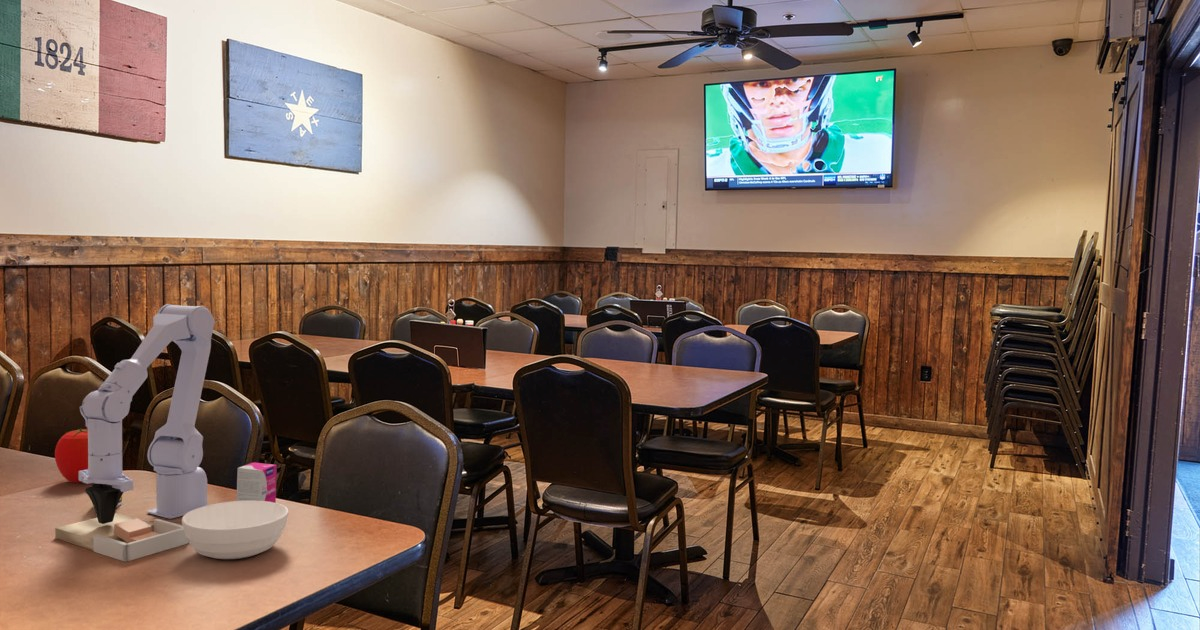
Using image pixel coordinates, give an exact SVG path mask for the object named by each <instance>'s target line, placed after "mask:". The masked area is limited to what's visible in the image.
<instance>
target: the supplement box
mask: <svg viewBox="0 0 1200 630" xmlns="http://www.w3.org/2000/svg"><path fill="white" fill-rule="evenodd" d="M277 468H278V466H277V464H271V463H261V462H250V463H248V464H245V465H242V466H239V467H237V475H236V477H237V478H236V501H267V502H273V503H277V502H276V500H277V499H276V497H277Z"/></svg>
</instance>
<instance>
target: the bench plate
mask: <svg viewBox="0 0 1200 630" xmlns="http://www.w3.org/2000/svg"><path fill="white" fill-rule="evenodd" d="M136 518H137V517H133V516H129V515H125V514H122V513H118V512H115V515H114V519H113V522H109V523H105V524H101V523H99V522H98V519H97V517H93V518H90V519H86V520H83V521H79V522H78V521H77V522H73V523H69V524H65V525H61V526H58V527H55V532H54V533H55V535H54V537H55V539H57V540H60V541H63V542H66V543H70V544H73V545H75V546H77V547H78V546H79V547H81V548H85V549H88V550H91V551H94V546H93V535H97V534H98V535H102V536H105V537H108V538H111V539H115V540H118V541H121V542H124V541H125V540H123V539H121V538H119V537H118V536H116V535H114V524H117V523H121V522H124V521H128V520H132V519H136ZM141 520H142V521H143V522H145V523H147V524H149V525H150V526H152V528H151V532H154V522H150V521H147V520H143V519H141Z"/></svg>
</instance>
